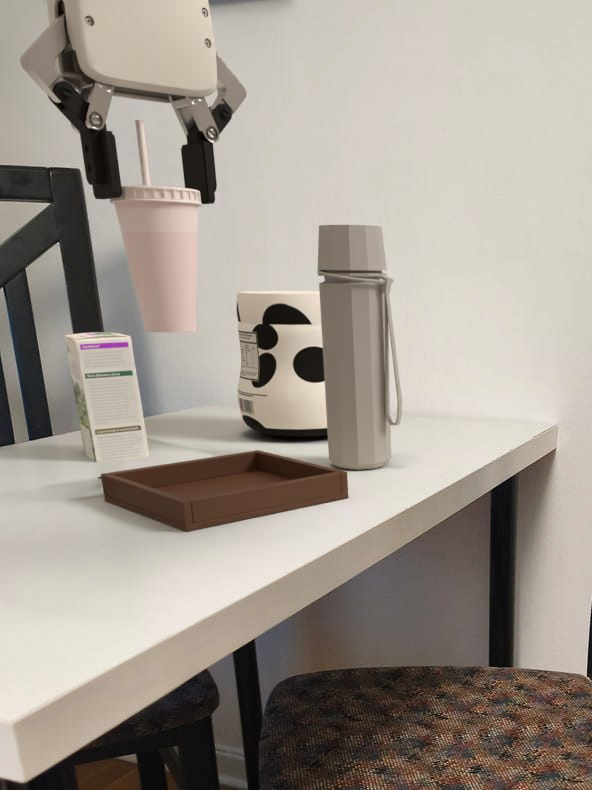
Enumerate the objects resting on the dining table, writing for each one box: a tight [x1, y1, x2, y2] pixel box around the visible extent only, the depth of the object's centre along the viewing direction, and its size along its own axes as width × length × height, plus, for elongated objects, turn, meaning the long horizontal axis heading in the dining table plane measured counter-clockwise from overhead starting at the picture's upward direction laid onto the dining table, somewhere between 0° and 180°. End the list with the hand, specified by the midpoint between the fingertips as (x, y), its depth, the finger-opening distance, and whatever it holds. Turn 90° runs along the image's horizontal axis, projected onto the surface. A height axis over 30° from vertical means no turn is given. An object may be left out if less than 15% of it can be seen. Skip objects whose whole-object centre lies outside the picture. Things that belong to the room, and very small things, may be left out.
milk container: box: [236, 290, 328, 438], centre depth 119 cm, size 17×17×18 cm
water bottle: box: [316, 224, 403, 471], centre depth 97 cm, size 9×8×25 cm
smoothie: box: [109, 119, 204, 333], centre depth 65 cm, size 6×6×14 cm
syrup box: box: [63, 331, 150, 479], centre depth 95 cm, size 6×6×14 cm
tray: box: [100, 449, 349, 532], centre depth 87 cm, size 18×16×3 cm
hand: (155, 198), depth 64 cm, fingers closed on smoothie, 6 cm apart
